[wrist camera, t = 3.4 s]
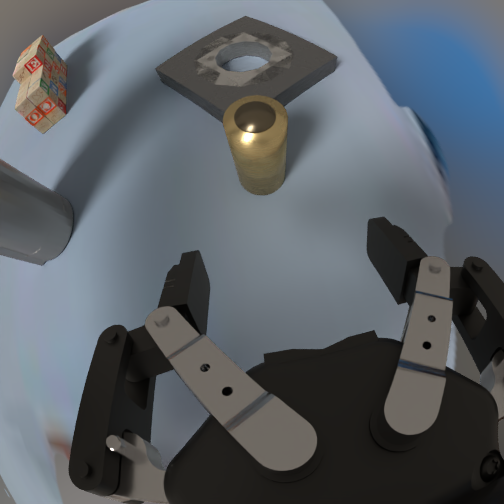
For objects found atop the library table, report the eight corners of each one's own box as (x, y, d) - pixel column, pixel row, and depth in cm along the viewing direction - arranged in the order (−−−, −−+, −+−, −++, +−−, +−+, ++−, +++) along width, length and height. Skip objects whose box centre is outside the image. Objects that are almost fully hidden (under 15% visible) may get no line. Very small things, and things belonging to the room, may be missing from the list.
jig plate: (243, 138, 30) (240, 123, 27) (161, 81, 34) (155, 68, 31) (334, 71, 32) (337, 56, 29) (247, 28, 35) (245, 16, 32)
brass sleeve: (261, 204, 28) (254, 153, 18) (229, 175, 29) (209, 118, 19) (294, 173, 29) (301, 115, 19) (261, 147, 30) (254, 85, 20)
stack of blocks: (67, 115, 35) (29, 76, 23) (43, 135, 35) (3, 101, 23) (67, 65, 40) (42, 33, 28) (47, 81, 40) (20, 52, 28)
